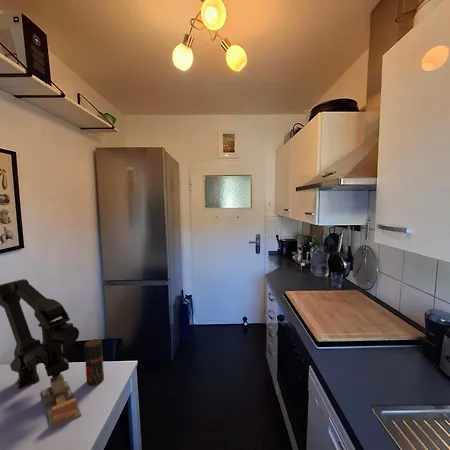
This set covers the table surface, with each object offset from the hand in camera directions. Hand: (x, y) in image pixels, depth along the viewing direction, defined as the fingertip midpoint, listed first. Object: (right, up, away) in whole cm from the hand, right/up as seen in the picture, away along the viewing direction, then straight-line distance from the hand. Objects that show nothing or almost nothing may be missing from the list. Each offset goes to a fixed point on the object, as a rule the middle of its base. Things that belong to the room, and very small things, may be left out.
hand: (55, 380), depth 97 cm
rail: (+5, -4, -6) cm, 9 cm away
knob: (+3, -4, -3) cm, 6 cm away
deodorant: (+12, -3, +6) cm, 13 cm away
